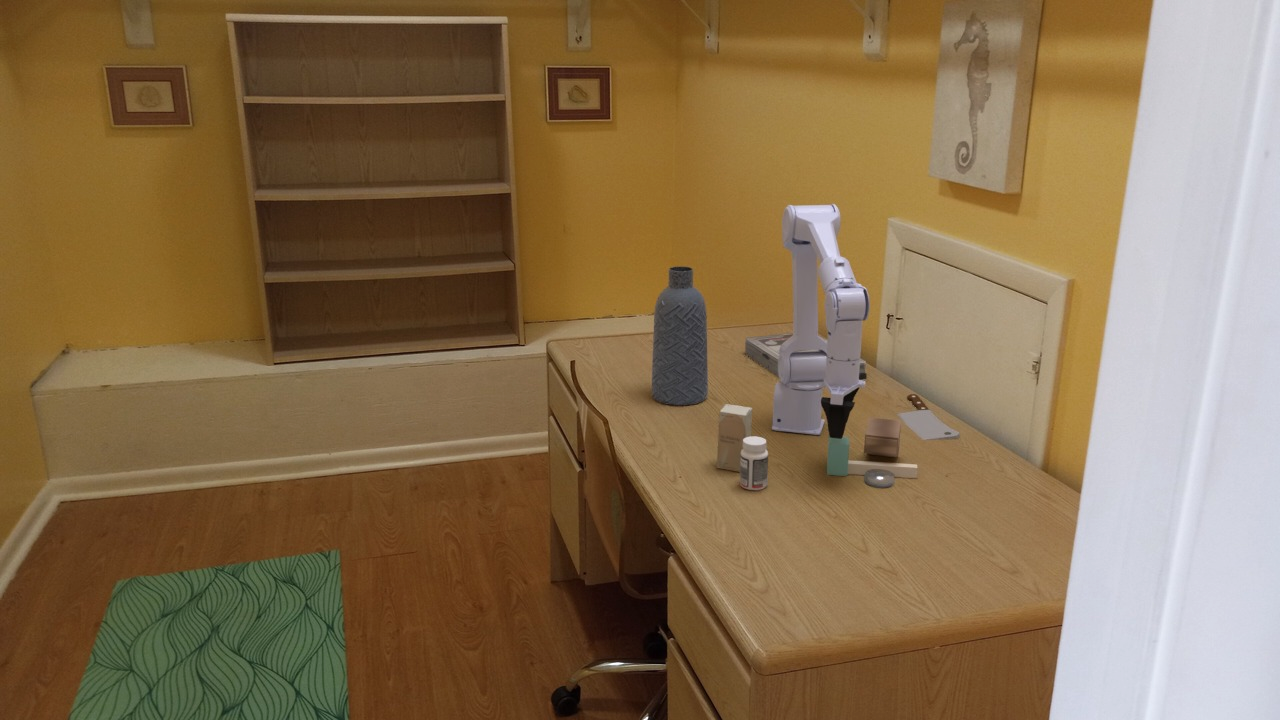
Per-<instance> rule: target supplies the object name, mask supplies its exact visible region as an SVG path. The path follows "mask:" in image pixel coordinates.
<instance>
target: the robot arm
mask: <svg viewBox="0 0 1280 720" xmlns="http://www.w3.org/2000/svg"><path fill="white" fill-rule="evenodd" d="M841 223H842V222H841V212H840V209H839V208H838V206H837V205H836V204H835V203H831V204H818V205H817V204H816V205H815V204H813V205H812V204H809V205H792V204H787V206H786V207H785V208H784V210H783V214H782V219H781V227H782V229H781V233H782V234H781V235H782V244H783V248H785V249H786V250H789V251H790V255H791V260H792V261H791V263H792V265H791V266H792V267H791V268H792V320H793V325H792V326H793V327H792V328H793V329H792V330H793V332H792V333H793V335H792V336H791V337H790V338H789V339H788V340H786V341H785V342H784V343H783V344H782V345H781V346H780V349H779V359H778V375H779V377H778V379H779V380H780V381H777V382H776V383H775V387H774V392H773V401H772V403H773V407H772V426H771V430H772V431H777V432H786V433H795V434H796V433H797V434H806V435H814V436H820V435H821V433H822V430H823V427H824V425H825V422H827V431H828V437H829V436H830V438H837V439H842V437H844V435H845V430H846V425H847V423H848V420H849V417H850V414H851V412H852V410H853V409H854V407H855V404H856V402H855V401H854V400H855V396H856V395H857V393H858V391H859V390H860V388H861V389H863V388H865V387H866V381H865V380H864V379H861V380H859V368H860V358H861V354H862V352H861V351H862V338H863V326H864V325H863V323H864V322H866V321H867V319H868V317H869V314H870V307H871V305H870V295H869V292H868V289H867V288H866V287H865V286H862V283H858V282H857V280H856V276H855V275H854V272H853V269H852V267H851V263H850V261H849V260H848V259H847V258H846V257H845V256H841V254H840V248H839V245H838V240H837V238H838V235H839V233H840V229H841ZM818 262H819V263H820V264H819V265H818ZM818 278H819V282H820V284H821V287H822V290H823V292H824V296H825V297H824V313H825V314H824V315H825V329H826V330H827V339H826V340H827V342H826V341H825V340H823V339H822V338H821V337H822V336H821V337H819V336H820V335H819V302H818V290H819V289H818V286H819V285H818ZM863 321H864V322H863ZM818 335H819V336H818ZM797 350H819V351H816V352H794V351H797ZM824 388H826V389H827V391H828V393H829V394H830V397H826V396H823V391H824ZM822 410H823V411H824V414H825V417H826V419H824V418H822Z"/></svg>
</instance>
